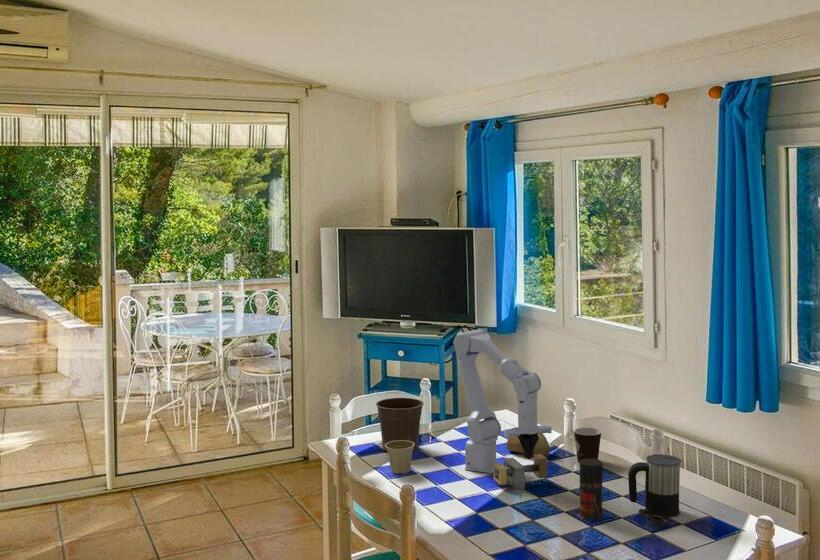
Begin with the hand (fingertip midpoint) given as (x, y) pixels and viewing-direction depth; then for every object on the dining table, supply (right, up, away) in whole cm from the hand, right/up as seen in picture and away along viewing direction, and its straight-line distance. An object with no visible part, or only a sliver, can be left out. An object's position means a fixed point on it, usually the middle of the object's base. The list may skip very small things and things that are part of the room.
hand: (528, 458), depth 259 cm
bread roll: (+4, -5, +29) cm, 29 cm away
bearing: (-4, -8, 0) cm, 9 cm away
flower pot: (-39, -7, +14) cm, 42 cm away
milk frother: (+31, -10, -28) cm, 43 cm away
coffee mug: (+22, -5, +20) cm, 30 cm away
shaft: (-2, -6, 0) cm, 7 cm away
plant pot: (-39, -5, +37) cm, 54 cm away
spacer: (-9, -7, -2) cm, 11 cm away
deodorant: (+13, -10, -26) cm, 31 cm away
